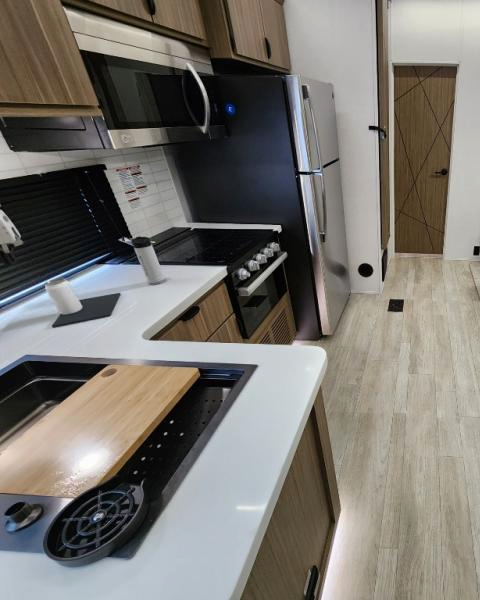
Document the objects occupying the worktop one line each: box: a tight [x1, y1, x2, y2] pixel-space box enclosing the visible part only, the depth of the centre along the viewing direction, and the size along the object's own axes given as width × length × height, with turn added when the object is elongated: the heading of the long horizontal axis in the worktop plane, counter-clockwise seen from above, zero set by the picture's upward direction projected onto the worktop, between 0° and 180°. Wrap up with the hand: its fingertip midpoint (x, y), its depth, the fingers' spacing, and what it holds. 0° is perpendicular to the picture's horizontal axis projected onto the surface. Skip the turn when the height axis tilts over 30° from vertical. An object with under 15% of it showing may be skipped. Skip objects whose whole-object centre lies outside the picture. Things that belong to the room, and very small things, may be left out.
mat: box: [51, 292, 122, 329], centre depth 124 cm, size 16×20×1 cm
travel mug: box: [130, 235, 166, 286], centre depth 141 cm, size 6×7×20 cm
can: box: [44, 277, 82, 315], centre depth 119 cm, size 6×6×12 cm
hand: (11, 263), depth 109 cm, fingers closed
